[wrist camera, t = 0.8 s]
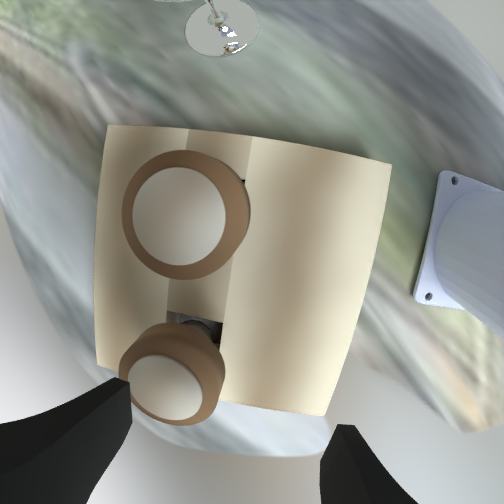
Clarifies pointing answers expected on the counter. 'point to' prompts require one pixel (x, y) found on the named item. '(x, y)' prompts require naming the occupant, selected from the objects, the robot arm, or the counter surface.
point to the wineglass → (220, 27)
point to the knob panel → (251, 264)
